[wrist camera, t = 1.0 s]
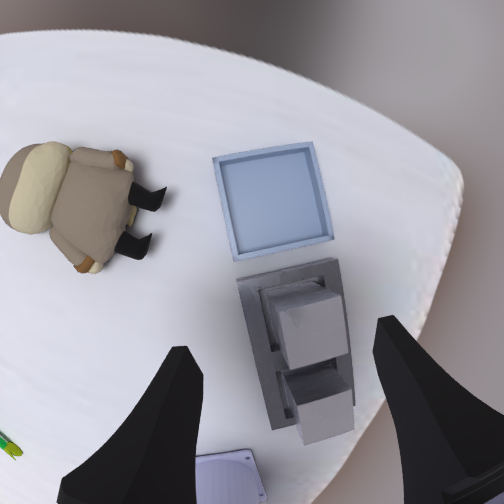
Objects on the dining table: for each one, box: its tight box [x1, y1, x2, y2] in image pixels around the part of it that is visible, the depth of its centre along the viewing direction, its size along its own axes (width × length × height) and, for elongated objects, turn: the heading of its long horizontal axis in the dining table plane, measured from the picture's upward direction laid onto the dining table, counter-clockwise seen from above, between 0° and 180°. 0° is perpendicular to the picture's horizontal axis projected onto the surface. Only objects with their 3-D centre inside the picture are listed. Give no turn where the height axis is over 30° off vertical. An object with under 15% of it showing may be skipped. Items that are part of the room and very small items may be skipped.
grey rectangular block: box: [281, 360, 354, 445], centre depth 21 cm, size 4×4×6 cm
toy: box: [0, 142, 167, 274], centre depth 19 cm, size 10×6×15 cm
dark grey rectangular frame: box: [236, 258, 355, 430], centre depth 23 cm, size 14×8×2 cm, turn 12°
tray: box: [213, 142, 334, 261], centre depth 22 cm, size 8×8×2 cm
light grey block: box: [265, 281, 348, 370], centre depth 21 cm, size 4×4×6 cm
